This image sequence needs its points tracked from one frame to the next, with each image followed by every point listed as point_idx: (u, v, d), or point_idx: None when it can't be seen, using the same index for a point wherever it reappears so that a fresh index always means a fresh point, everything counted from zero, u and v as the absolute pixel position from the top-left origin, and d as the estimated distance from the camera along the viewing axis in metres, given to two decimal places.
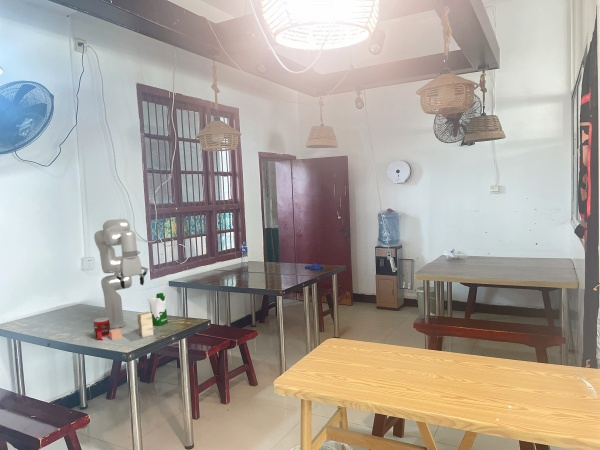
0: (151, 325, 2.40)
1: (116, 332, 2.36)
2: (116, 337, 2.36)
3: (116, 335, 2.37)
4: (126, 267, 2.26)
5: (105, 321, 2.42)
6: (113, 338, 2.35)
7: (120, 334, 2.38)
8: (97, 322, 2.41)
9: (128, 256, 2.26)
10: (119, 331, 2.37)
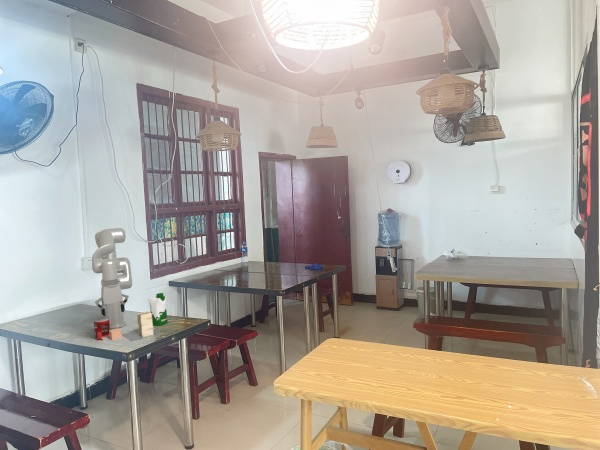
0: (151, 325, 2.40)
1: (116, 332, 2.36)
2: (116, 337, 2.36)
3: (116, 335, 2.37)
4: (107, 295, 2.33)
5: (105, 321, 2.42)
6: (113, 338, 2.35)
7: (120, 334, 2.38)
8: (97, 322, 2.41)
9: (108, 285, 2.33)
10: (119, 331, 2.37)
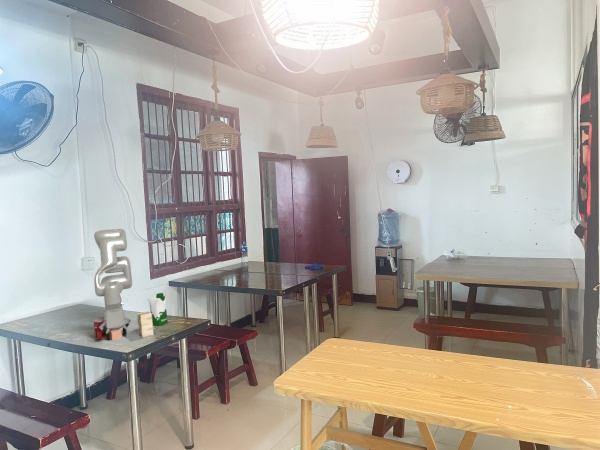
0: (151, 325, 2.40)
1: (116, 332, 2.36)
2: (116, 337, 2.36)
3: (117, 335, 2.37)
4: (110, 319, 2.34)
5: None
6: (113, 338, 2.35)
7: (120, 334, 2.38)
8: (97, 322, 2.41)
9: (112, 309, 2.34)
10: (119, 331, 2.37)
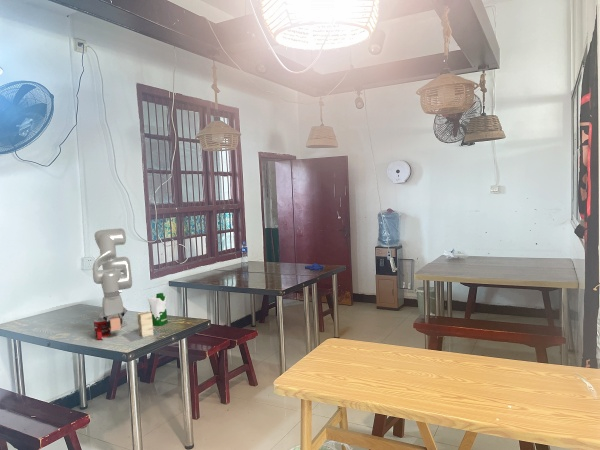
0: (151, 325, 2.40)
1: (115, 320, 2.37)
2: (115, 325, 2.37)
3: (115, 323, 2.37)
4: (108, 307, 2.34)
5: (105, 321, 2.42)
6: (112, 326, 2.36)
7: (119, 323, 2.38)
8: (97, 322, 2.41)
9: (110, 297, 2.34)
10: (118, 320, 2.38)
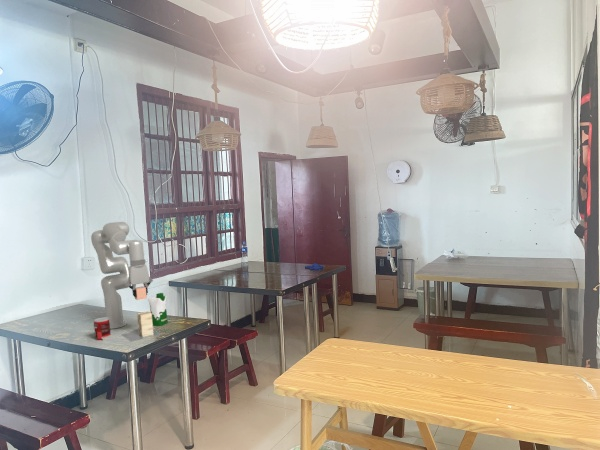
0: (151, 325, 2.40)
1: (140, 289, 2.37)
2: (141, 294, 2.37)
3: (141, 292, 2.37)
4: (134, 275, 2.35)
5: (105, 321, 2.42)
6: (138, 295, 2.36)
7: (145, 292, 2.38)
8: (97, 322, 2.41)
9: (136, 265, 2.34)
10: (144, 289, 2.38)
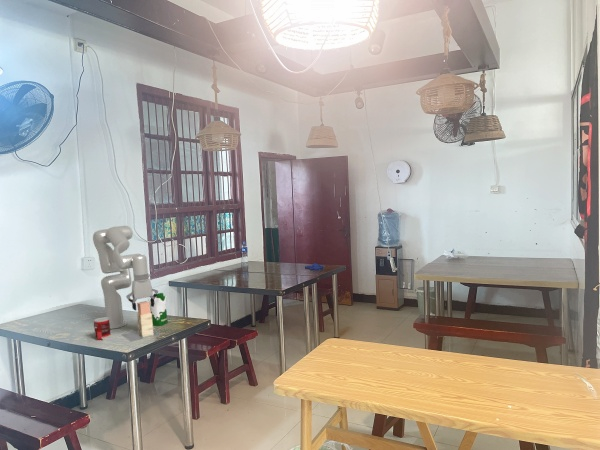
0: (151, 325, 2.40)
1: (144, 304, 2.38)
2: (144, 309, 2.38)
3: (145, 307, 2.38)
4: (137, 290, 2.36)
5: (105, 321, 2.42)
6: (142, 310, 2.37)
7: (148, 307, 2.39)
8: (97, 322, 2.41)
9: (139, 279, 2.35)
10: (147, 304, 2.39)
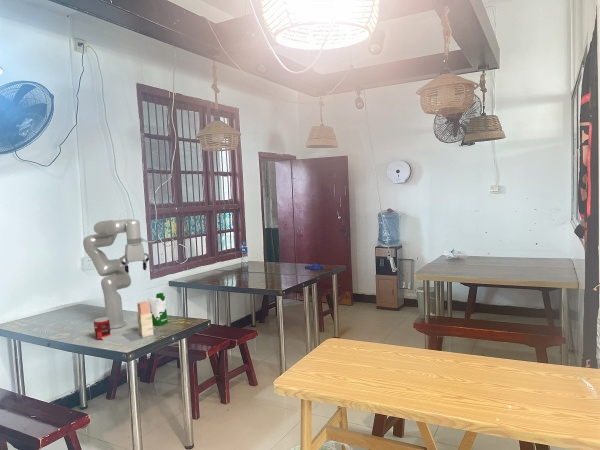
0: (151, 325, 2.40)
1: (144, 304, 2.38)
2: (144, 309, 2.38)
3: (145, 307, 2.38)
4: (130, 253, 2.45)
5: (105, 321, 2.42)
6: (142, 310, 2.37)
7: (148, 307, 2.39)
8: (97, 322, 2.41)
9: (132, 243, 2.44)
10: (147, 304, 2.39)
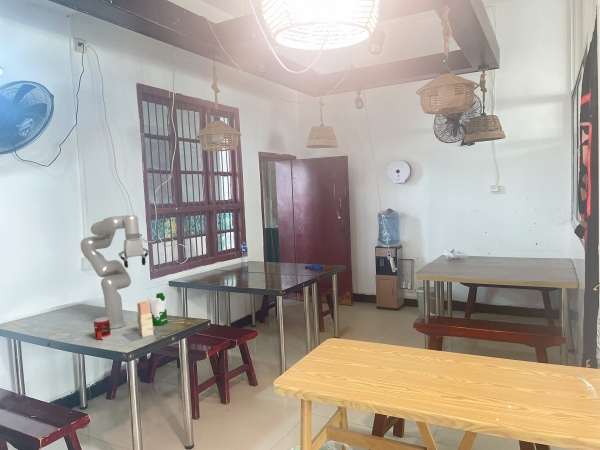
0: (151, 325, 2.40)
1: (144, 304, 2.38)
2: (144, 309, 2.38)
3: (145, 307, 2.38)
4: (129, 248, 2.47)
5: (105, 321, 2.42)
6: (142, 310, 2.37)
7: (148, 307, 2.39)
8: (97, 322, 2.41)
9: (131, 238, 2.47)
10: (147, 304, 2.39)
